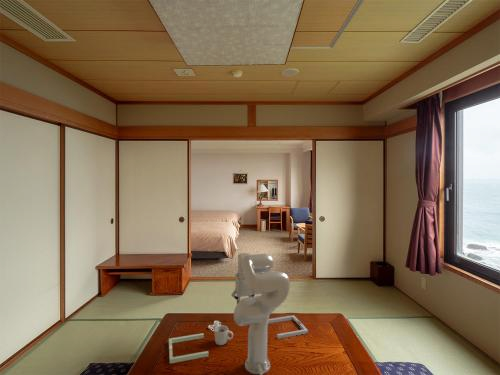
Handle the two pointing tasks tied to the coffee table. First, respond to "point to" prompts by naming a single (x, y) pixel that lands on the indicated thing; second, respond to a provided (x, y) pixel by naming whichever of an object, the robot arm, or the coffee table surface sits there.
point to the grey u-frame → (293, 333)
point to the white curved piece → (216, 323)
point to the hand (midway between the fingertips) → (244, 306)
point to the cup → (222, 334)
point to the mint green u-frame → (189, 356)
